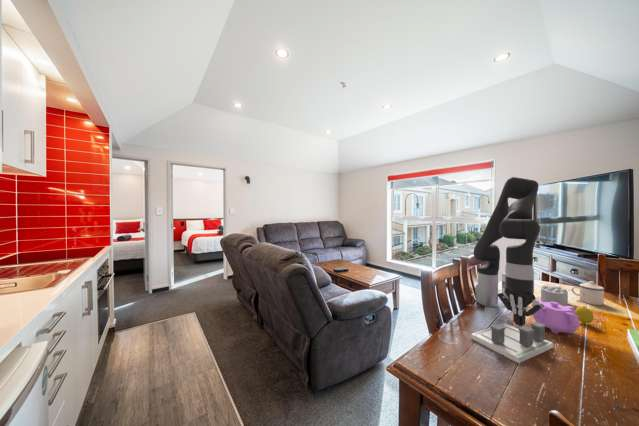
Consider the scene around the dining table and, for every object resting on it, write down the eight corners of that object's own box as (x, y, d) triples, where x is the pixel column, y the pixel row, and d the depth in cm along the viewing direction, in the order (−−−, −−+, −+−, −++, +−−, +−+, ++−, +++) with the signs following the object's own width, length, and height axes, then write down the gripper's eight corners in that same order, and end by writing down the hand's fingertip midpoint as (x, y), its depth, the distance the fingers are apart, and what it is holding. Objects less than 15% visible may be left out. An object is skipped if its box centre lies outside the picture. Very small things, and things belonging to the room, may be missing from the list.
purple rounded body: (516, 319, 107) (516, 294, 107) (552, 318, 107) (552, 294, 107) (556, 340, 89) (556, 311, 89) (599, 340, 89) (599, 311, 89)
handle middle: (518, 343, 84) (518, 327, 84) (524, 340, 85) (524, 325, 85) (527, 347, 81) (527, 331, 81) (534, 344, 83) (534, 329, 83)
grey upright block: (490, 340, 85) (490, 325, 85) (497, 338, 87) (497, 323, 87) (498, 345, 83) (498, 329, 83) (505, 342, 84) (505, 327, 84)
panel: (471, 338, 91) (471, 333, 91) (504, 327, 99) (504, 322, 99) (518, 363, 76) (518, 357, 76) (552, 348, 85) (552, 342, 85)
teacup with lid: (604, 302, 125) (604, 282, 125) (604, 307, 119) (604, 285, 119) (572, 296, 134) (572, 277, 134) (570, 300, 129) (570, 280, 129)
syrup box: (519, 299, 130) (519, 275, 129) (509, 300, 130) (509, 275, 130) (511, 296, 135) (511, 272, 135) (501, 296, 135) (501, 272, 135)
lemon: (597, 327, 99) (597, 309, 99) (582, 326, 100) (582, 308, 100) (585, 321, 104) (585, 304, 104) (571, 320, 106) (571, 303, 106)
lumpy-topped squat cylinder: (568, 302, 126) (568, 286, 126) (567, 308, 118) (567, 292, 118) (542, 296, 134) (542, 282, 134) (539, 302, 126) (539, 287, 126)
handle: (530, 338, 87) (530, 323, 87) (536, 336, 88) (536, 321, 88) (540, 342, 84) (540, 327, 84) (545, 340, 86) (545, 325, 86)
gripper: (549, 279, 74) (550, 332, 74) (504, 270, 86) (504, 315, 86) (537, 282, 71) (537, 337, 71) (491, 272, 83) (492, 318, 83)
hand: (519, 325), depth 79 cm, fingers closed
